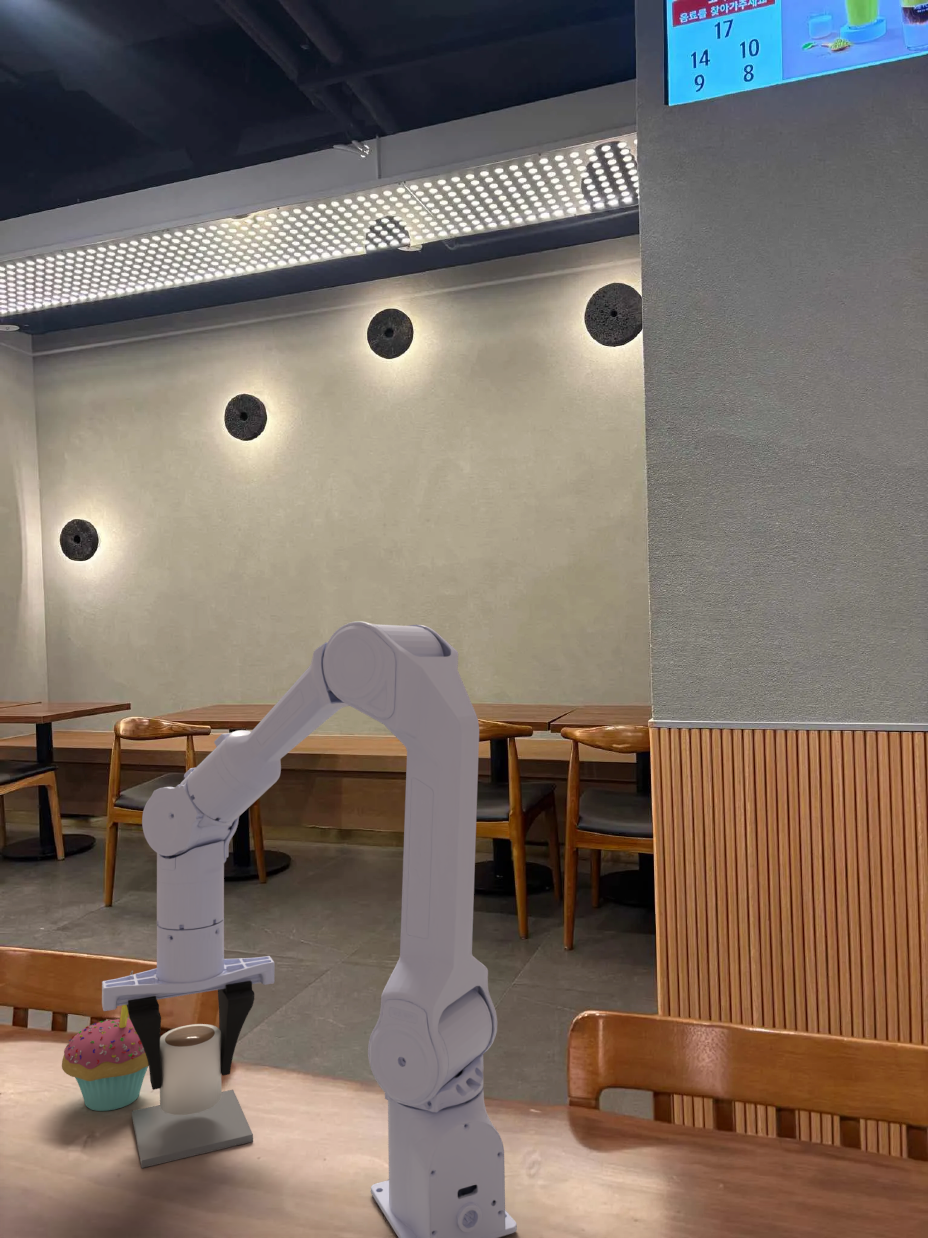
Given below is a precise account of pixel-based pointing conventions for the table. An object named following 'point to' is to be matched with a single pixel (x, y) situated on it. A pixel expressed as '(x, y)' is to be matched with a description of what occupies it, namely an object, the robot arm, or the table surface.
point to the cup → (190, 1069)
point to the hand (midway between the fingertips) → (190, 1077)
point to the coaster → (189, 1131)
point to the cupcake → (107, 1063)
